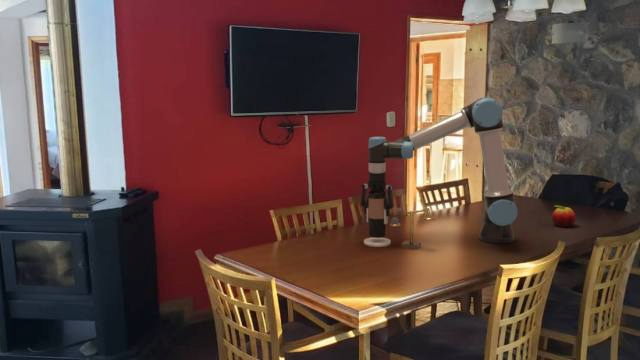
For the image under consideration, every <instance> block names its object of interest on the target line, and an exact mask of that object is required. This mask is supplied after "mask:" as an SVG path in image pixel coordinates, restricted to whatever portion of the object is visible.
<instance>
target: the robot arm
mask: <svg viewBox="0 0 640 360" xmlns="http://www.w3.org/2000/svg"><path fill="white" fill-rule="evenodd" d="M503 112H504V111H503V107H502V105H501V104H500V102H498V101H497V100H496V99H495V98H492V97H481V98H480V97H479V98H478V99H476V100H475V101H473V102H472V103H470V104H469V105H466V106H464V107H462V108H461V109H460V111H458V112H456V113H455V114H453V115H449V116H447V117H446V118H443V119H441V120H439V121H436V122H435V123H433V124H430V125H428V126H426V127H423V128H421V129H419V130H417V131H414V132H412V133H411V134H408V135H406V136H404V137H401V138H397V139H396V140H395V141H387V138H386V137H385V136H372V137H369V138H368V148H367V149H368V182H367V183H363V184H362V185H361V187H362V191H361V199H360V206H361V207H364V215H365V216H366V223H369V195H368V196H367V193H368V194H369V193H385V192H386V193H387V195H386V196H385V197H384V205H385V208H386V209H384V224H386V225H388V224H389V217H390V216H391V215H390V214H391V209H393V208H394V207H395V203H394V196H393V185H389V184H387V182H386V180H387V179H386V178H387V177H386V175H387V173H386V165H387V163H386V161H387V160H386V159H388V160H389V159H395V160H396V159H398V160H401V159H402V160H409V159H413V157H414V152H415V151H416V150H419V149H421V148H423V147H425V146H428V145H429V144H432V143H434V142H436V141H439V140H442V139H444V138H446V137H448V136H450V135H452V134H455V133H457V132H460V131H461V130H464V129H466V128H470V129H471V128H474V133H476V134H477V136H479V142H480V149H481V156H482V162H483V169H484V175H485V181H486V186H487V189H486V190H484V195H483V198H484V201H483V202H484V205H483V210H484V211H483V223H482V226H481V229H480V232H479V236H478V237H479V240H481V241H482V242H484V243H491V244H510V243H513V242H514V241H515V234H514V230H513V228H512V223H513V222H514V221H515V220H516V219H517V216H518V208H517V205H516V201H515V195H514V191H513V190H512V189H511V188H510V187H509V181H508V176H507V175H508V174H507V167H506V161H505V155H504V147H503V141H502V135H501V132H502V130H503V129H504V122H503ZM368 189H369V191H368ZM385 189H386V190H387V191H385Z"/></svg>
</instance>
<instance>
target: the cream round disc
mask: <svg viewBox="0 0 640 360" xmlns="http://www.w3.org/2000/svg"><path fill="white" fill-rule="evenodd" d="M391 241H392V240H391V239H389V238H387V237H382V238H373V237H367V238H365V239H363V244H364V245H365V246H367V247H371V248H372V247H373V248H381V247H382V248H383V247H387V246H390V245H391V244H392V243H391Z"/></svg>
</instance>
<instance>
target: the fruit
mask: <svg viewBox="0 0 640 360" xmlns="http://www.w3.org/2000/svg"><path fill="white" fill-rule="evenodd" d="M553 207H555V210H553V212H552V215H551V218H552V222H553V224H555V226H557V227H559V228H569V227H571V226H573V225H574V224H575V223H576V213H575V211H574V210H573V209H572V208H570V207H565V206H562V205H557V204H556V205H553Z"/></svg>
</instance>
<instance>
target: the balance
mask: <svg viewBox="0 0 640 360" xmlns="http://www.w3.org/2000/svg"><path fill="white" fill-rule="evenodd" d="M430 210H431V209H430V207H428V208H424V209H423V208H422V209H418V210H410V211H407V212H401V213H396V214H394V216H393V217H392V218H391V219H390V223H389V222H388V226H389V227H395V228H396V227H397V228H398V227H401V226H402V225H401V223H400V222H399V218H398V217H401V216H408V215H409V240H404V241H403V242H402V243H401V249H405V250H407V249H408V250H413V251H417V250H419V249H420V248H421V247H422V241H414V221H415V220H414V218H415V217H414V214H417V213H424V212H428V216H423V217H422V220H425V221H435V220H436V217H435V216H430V213H431V212H430Z"/></svg>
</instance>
